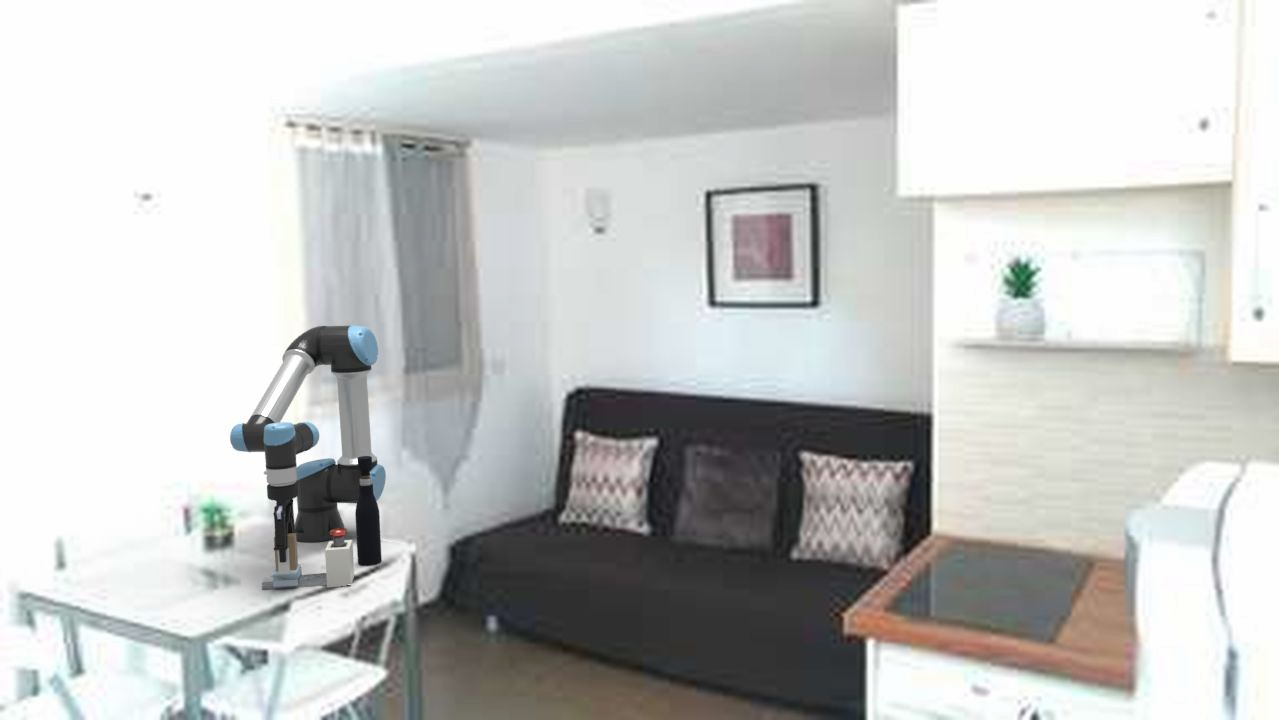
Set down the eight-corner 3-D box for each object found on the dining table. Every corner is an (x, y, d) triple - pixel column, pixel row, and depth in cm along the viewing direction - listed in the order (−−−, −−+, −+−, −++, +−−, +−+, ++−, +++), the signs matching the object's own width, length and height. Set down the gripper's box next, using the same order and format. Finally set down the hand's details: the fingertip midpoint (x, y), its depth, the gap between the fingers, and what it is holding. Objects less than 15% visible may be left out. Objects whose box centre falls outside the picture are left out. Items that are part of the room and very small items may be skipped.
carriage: (278, 578, 260) (275, 532, 259) (302, 576, 261) (299, 530, 260) (273, 587, 254) (270, 540, 252) (297, 585, 255) (294, 538, 253)
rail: (265, 584, 259) (264, 577, 258) (330, 580, 261) (329, 572, 261) (261, 589, 255) (261, 582, 254) (328, 585, 257) (327, 577, 257)
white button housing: (331, 577, 263) (329, 541, 262) (354, 575, 264) (352, 539, 263) (327, 587, 255) (325, 550, 254) (350, 585, 256) (349, 548, 255)
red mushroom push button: (332, 554, 261) (331, 528, 260) (348, 553, 261) (346, 527, 261) (330, 558, 257) (329, 532, 256) (346, 557, 257) (345, 531, 257)
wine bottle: (357, 567, 272) (352, 460, 268) (357, 560, 278) (352, 455, 274) (381, 564, 273) (376, 458, 270) (381, 557, 280) (376, 454, 276)
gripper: (274, 474, 264) (279, 558, 266) (258, 492, 244) (264, 582, 247) (303, 473, 265) (308, 556, 268) (290, 491, 245) (295, 580, 248)
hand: (287, 568), depth 257 cm, fingers closed on carriage, 7 cm apart
